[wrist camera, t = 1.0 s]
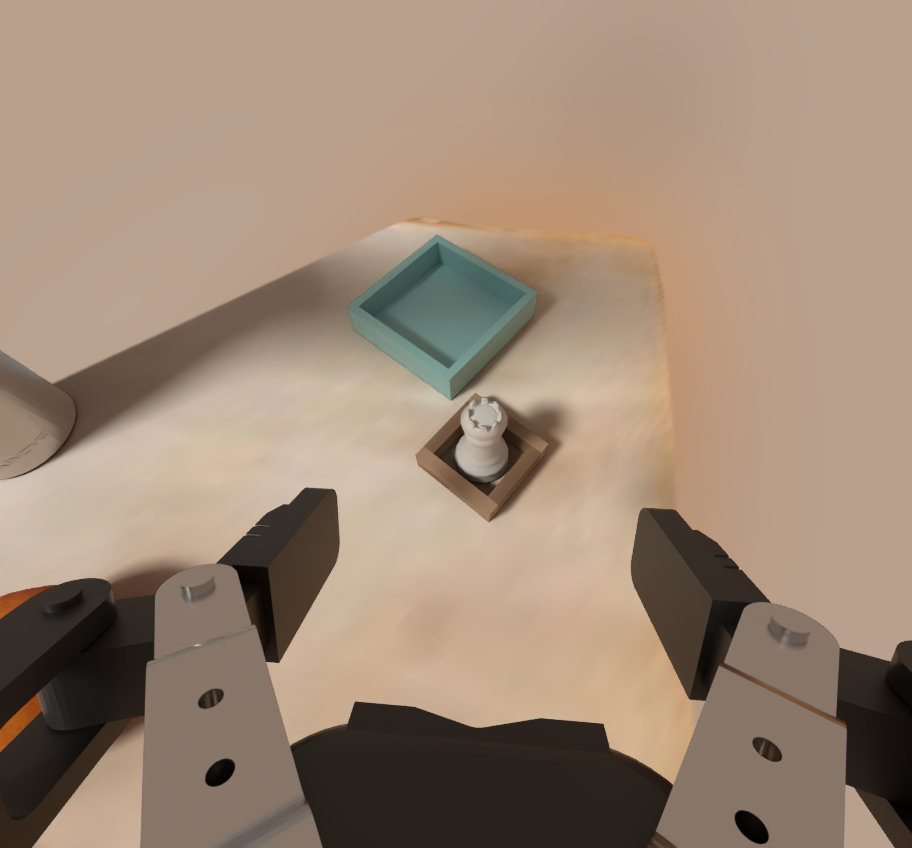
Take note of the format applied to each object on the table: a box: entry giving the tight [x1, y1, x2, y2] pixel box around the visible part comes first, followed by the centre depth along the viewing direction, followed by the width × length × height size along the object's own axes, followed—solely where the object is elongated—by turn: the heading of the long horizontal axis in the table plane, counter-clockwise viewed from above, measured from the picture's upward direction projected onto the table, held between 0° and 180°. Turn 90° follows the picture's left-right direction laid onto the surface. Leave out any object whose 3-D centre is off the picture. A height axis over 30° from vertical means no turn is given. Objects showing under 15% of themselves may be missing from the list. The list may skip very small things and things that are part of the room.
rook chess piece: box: [455, 397, 508, 483], centre depth 33 cm, size 4×4×8 cm
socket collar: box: [416, 393, 548, 522], centre depth 36 cm, size 8×8×2 cm
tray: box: [346, 235, 538, 400], centre depth 42 cm, size 13×13×3 cm
